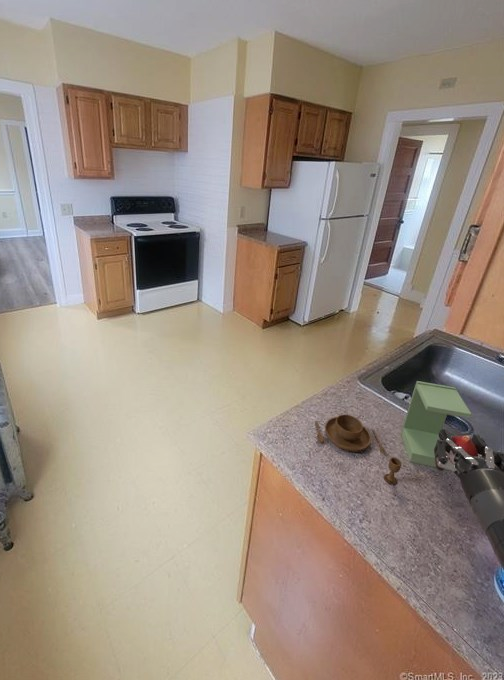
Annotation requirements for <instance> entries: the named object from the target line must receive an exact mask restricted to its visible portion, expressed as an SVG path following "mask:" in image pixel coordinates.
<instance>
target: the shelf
mask: <svg viewBox="0 0 504 680" xmlns="http://www.w3.org/2000/svg"><path fill="white" fill-rule="evenodd" d="M448 415H450V416H455V417H461V418H464V419H465V418H466V419H471V417H472V415H473V414H472V412H471V411H470V409H469V407H468V406H467V404H466V403H465V401H464V399H463V398H462V397H461V395H460V393H459V392H458V391H457V388H456V387H455V386H449V385H444V384H437V383H431V382H426V381H419V380H416V382H415V384H414V389H413V392H412V394H411V398H410V401H409V405H408V409H407V411H406V415H405V418H404V422H403V424H402V428H401V432H400V436H401V439H402V443H403V446H404V448H405V451H406V455H407V457H408V461H409V462H410V463H414V464H418V465H423V466H428V467H432V468H436V462H435V454H434V448H435V446H436V443H437V440H438V439H440V438H439V436H438V435H439V432H440V430H442V428H444V426H445V423H446V419H447V417H448ZM444 470H445V471H449V470H448V469H445V468H444Z"/></svg>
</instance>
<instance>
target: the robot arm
mask: <svg viewBox="0 0 504 680" xmlns="http://www.w3.org/2000/svg"><path fill="white" fill-rule="evenodd" d="M438 436H439V438H440V439H438V440H437V443H436V446H435V448H434V454H435V462H436V467H435V468H436V469H437V470H438V471H441V472H443V471H444V470H445V469H448V470H447V471H452V472H453V474H454V475H455V476H456V477H457V478H458V479H459V481H460V485H461V488H462V491H463V493H464V495H465V497H466V499H467V502H468V503H469V505H470V508H471V511H472V513H473V514H474V516H475V518H476V521H477V522H478V523H477V524H479V526H480V528H481V530H482V531H483V533H484V534H485V536H486V539H487V540H488V543H489V544H490V546H491V548H492V550H493V553H494V554H495V557H496V559H497V562H498V563H499V565H500V567H501V568H502V570H503V571H504V452H502V451H497V452H496V451H494V450H493V449H492V448H491V447H489V445H488V444H487V442H486V441H485V440H484V439H483V437H481V436H480V434H477V433H473V435H472V437H471V439H470V441H471V442H472V443H473V444H474V445H475V447H476V449H477V451H478V457H474V456H472V455H468V454H467V453H466V452H465V451H464V450H463V449H462V448H461V447H458V446H457V445H456V444H455V443H454V442H453V439H452V437H453V436H451V433H450V432H449V430H448V428H447V427H443V428H442V430H440V432H439V435H438ZM451 449H452V450H453V452H452V451H451ZM446 454H447V455H448V456H446ZM449 457H450V460H451V461H450V460H449ZM451 462H452V463H451ZM444 468H445V469H444Z"/></svg>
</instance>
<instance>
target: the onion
mask: <svg viewBox="0 0 504 680" xmlns="http://www.w3.org/2000/svg"><path fill="white" fill-rule="evenodd" d="M451 437H452V439H453V442H454V443H455V444H456V445H457V446H458V447H461V448H462V449H463V450H464V451H465V452H466V453H467V454H468V455H472V456H474V457H479V454H478V451H477V449H476V447H475V445H474V444H473V443H472V441H471V437H470V436H469V435H453V436H451ZM451 451H452V452H453V450H452V449H451ZM446 456H448V455H447V454H446ZM449 460H450V457H449ZM450 461H451V460H450ZM451 463H452V462H451Z"/></svg>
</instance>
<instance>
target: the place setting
mask: <svg viewBox="0 0 504 680" xmlns="http://www.w3.org/2000/svg"><path fill="white" fill-rule="evenodd" d="M314 422H315V423H314V424H315V427H316V431H317V434H316V439H317V440H318V442H320V443H323V442H324V441H325V437H324V436H323V434H322V433H321V432H320V427H319V424H318V421H316V420H315V421H314ZM324 432H325V435H326V437H327V438H328V440H329V441H330V442H331V443H332V444H333V445H335V446H336V447H338V448H340V449H342V450H344V451H347V452H362V451H364V450H366V449H367V448H368V447H369V446H370V444H371V440H372V438H371V434H370V432H369V431H368V429H367V428H366V427H365V426H364V425H363V423H362V422H361V420H360V419H358V418H357V417H355V416H353V415H350V414H340V415H338V416H334V417H331V418H329V419H328V420H327V421H326V422H325V424H324ZM372 433H373V435H374V437H375V439H376V441H377V443H378V445H379V451H380V453H381V454H382V455H383V456H385V455H386V456H389V454H388V452H387V451H386V449H385V448H384V447H383V446H382V444H381V442H380V439H379V436H378V435H377V433H376V431H375V430H374V428H372ZM402 464H403V463H402V461H401V460H400V459H399V458H397V457H390V459H389V461H388V470H389V471H390V472H389V473H385V474H383V479H384V481H385V482H386V483H387V484H389V485H392V486H394V485H397V483H398V480H397V478H396V477H395V474H396V473H399V472H400V470H401V467H402Z"/></svg>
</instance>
